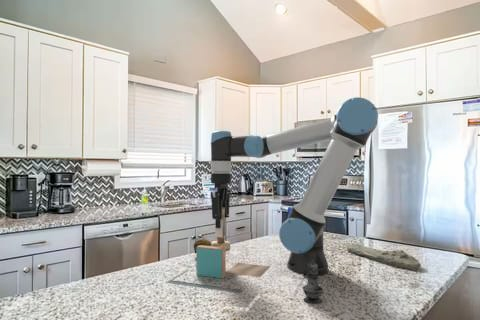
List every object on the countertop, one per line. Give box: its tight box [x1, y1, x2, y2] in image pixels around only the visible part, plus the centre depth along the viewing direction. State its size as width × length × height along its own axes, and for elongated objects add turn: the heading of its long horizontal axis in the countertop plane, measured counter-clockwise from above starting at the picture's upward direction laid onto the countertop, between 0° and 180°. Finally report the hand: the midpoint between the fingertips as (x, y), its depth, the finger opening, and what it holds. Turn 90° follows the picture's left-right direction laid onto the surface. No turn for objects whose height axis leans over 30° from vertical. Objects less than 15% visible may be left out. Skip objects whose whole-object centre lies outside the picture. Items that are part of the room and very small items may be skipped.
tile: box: [195, 245, 227, 279], centre depth 118 cm, size 10×3×10 cm, turn 70°
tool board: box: [226, 262, 271, 278], centre depth 125 cm, size 13×13×1 cm
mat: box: [166, 269, 244, 294], centre depth 113 cm, size 26×14×1 cm, turn 70°
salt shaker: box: [302, 259, 324, 305], centre depth 99 cm, size 6×6×12 cm
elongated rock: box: [346, 243, 422, 270], centre depth 142 cm, size 35×5×10 cm
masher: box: [210, 207, 231, 252], centre depth 126 cm, size 7×7×16 cm
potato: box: [193, 239, 212, 254], centre depth 144 cm, size 8×13×8 cm, turn 105°
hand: (220, 235), depth 126 cm, fingers closed on masher, 3 cm apart
